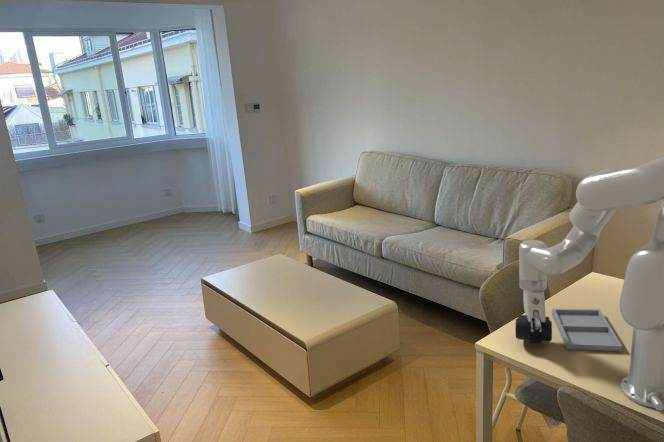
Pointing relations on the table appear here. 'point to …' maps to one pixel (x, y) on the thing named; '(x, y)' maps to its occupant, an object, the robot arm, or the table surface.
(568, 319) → the divided grey tray
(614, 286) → the table surface
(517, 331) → the end cap
